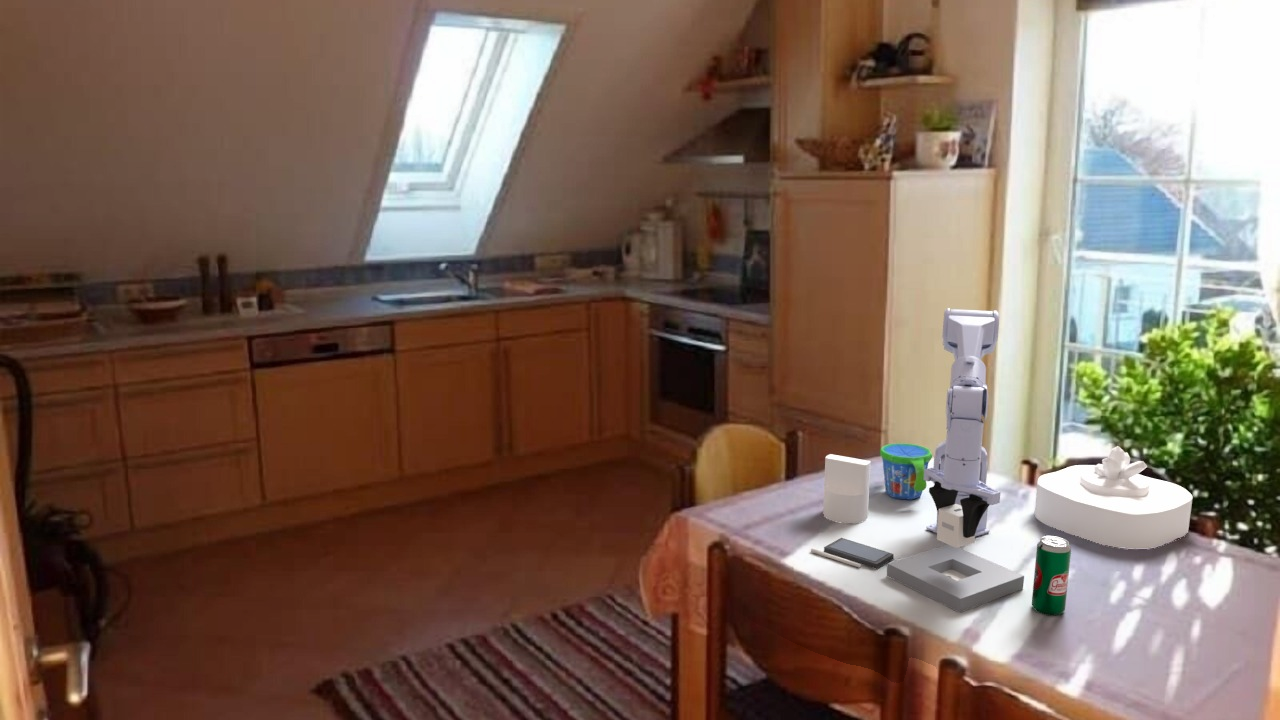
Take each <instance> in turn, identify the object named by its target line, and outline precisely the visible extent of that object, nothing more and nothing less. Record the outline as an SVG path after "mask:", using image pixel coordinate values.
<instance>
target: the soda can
mask: <svg viewBox="0 0 1280 720" xmlns="http://www.w3.org/2000/svg"><path fill="white" fill-rule="evenodd" d="M1071 554H1072V549H1071V547H1070V542H1069V540H1067V539H1066V538H1063V537H1059V536H1054V535H1046V536H1045V535H1044V536H1042V537H1040V538H1039V542H1037V545H1036V553H1035V564H1034V565H1035V566H1034V573H1033V574H1034V575H1033V585H1032V586H1033V587H1032V595H1031V606H1032V607H1033V609H1034V611H1037V612H1038V613H1040V614H1041V615H1045V614H1046V616H1058V615H1062V613H1064V612H1065V610H1066V605H1067V593H1068V584H1069V583H1068V582H1069V575H1070V574H1069V573H1070V566H1071V565H1070V564H1071Z"/></svg>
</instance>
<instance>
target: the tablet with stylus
mask: <svg viewBox="0 0 1280 720" xmlns="http://www.w3.org/2000/svg"><path fill="white" fill-rule="evenodd" d="M810 552H811V553H814V554H815V555H819V556H822V557H825V558H829V559H831V560H835V561H837V562H840V563H844V564H846V565H848V566H849V565H850V566H852V567H855V568H858V569H860V568H862V566H865V567H868V568H870V569H874V570H878V569H880V568H881V567H883V566H884V565H886V564H887V563H890V562H892V561H893V560H894V553H892V552H889V551H886V550H882V549H879V548H876V547H872V546H870V545H867V544H863V543H859V542H856V541H853V540H850V539H847V538H844V537H840V538H838V539H836V540H835V541H833V542H831V543H829V544H827V545H825V546H823V551H821V550H818V549H815V548H811V549H810Z"/></svg>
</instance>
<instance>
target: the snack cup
mask: <svg viewBox="0 0 1280 720" xmlns="http://www.w3.org/2000/svg"><path fill="white" fill-rule="evenodd" d="M879 454H880V456H881V459H882V467H883V477H884V487H885V493H886V494H887V495H889V496H890V497H892V498H894V499H900V500H910V501H911V500H914V499H918V498H920V496H922V495H923V491H924V490H925V491H926V488H927V481H925V480H924V470H925V469H929V468H928V467H929V463H930V461H931V460H932V458H933V453H932V451H931V450H930V449H929V448H927V447H925V446H922V445H919V444H913V443H900V442H899V443H889V444H885V445H883V446H882V447H881V448H880V450H879Z"/></svg>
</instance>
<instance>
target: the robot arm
mask: <svg viewBox="0 0 1280 720" xmlns="http://www.w3.org/2000/svg"><path fill="white" fill-rule="evenodd" d="M942 323H943V325H942V337H941V338H942V346H943V349H944V350H945V351H947V352H949V353H952V355H953V358H954V361H953V362H952V364H951V369H950V370H951V371H950V384H949V387H948V388H947V392H946V401H945V402H946V404H945V417H946V418H945V419H946V439H945V440H944V441H943V440H942V442H940V443H939V444H936V446H937V447H935V449H934V450H935V451H934V453H935V454H934V456H933V467H929V468H927V469H925V470H924V480H925V481H926V482H932V483H933V486H931V487H929V488H928V492H929V495H930V496H931V498H932V500H933V503H934V505H935V507H936V512H937V513H936V523H934V524H929V525H927V526H926V530H928V531H930V532H933V533H935V534H937V527H938V512H939V509H940V508H943V507H947V506H950V505H954V504H958V505H961V506H962V511H963V536H964V537H965V538H969V537H972V536H974V535H975V538H976V537H978V536H981V535H985V534H988V533H990V529H989V528H987V522H988V521H987V520H988V512H989V511H988V509H989V507H990V506H994V505H997V504H1000V502H1001V491H999V490H997V489H994V488H992V487H991V486H989V485H987V479H988V478H987V475H988V452H987V450H986V449H985V447H984V446H982V444H983V437H984V436H983V434H984V422H986V420H987V417H988V408H989V389H988V384H987V381H986V380H987V366H986V365H985V363H984V361H982V359H983V357H984V356H986V355H988V354H992V353H994V350H995V349H996V345H997V342H998V337H999V328H1000V313H999V312H998V311H997V310H979V309H978V310H977V309H976V310H975V309H974V310H973V309H959V308H958V309H957V308H953V309H952V308H950V307H947V308H946V309H945V310H944V312H943V322H942ZM982 417H983V419H982Z"/></svg>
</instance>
